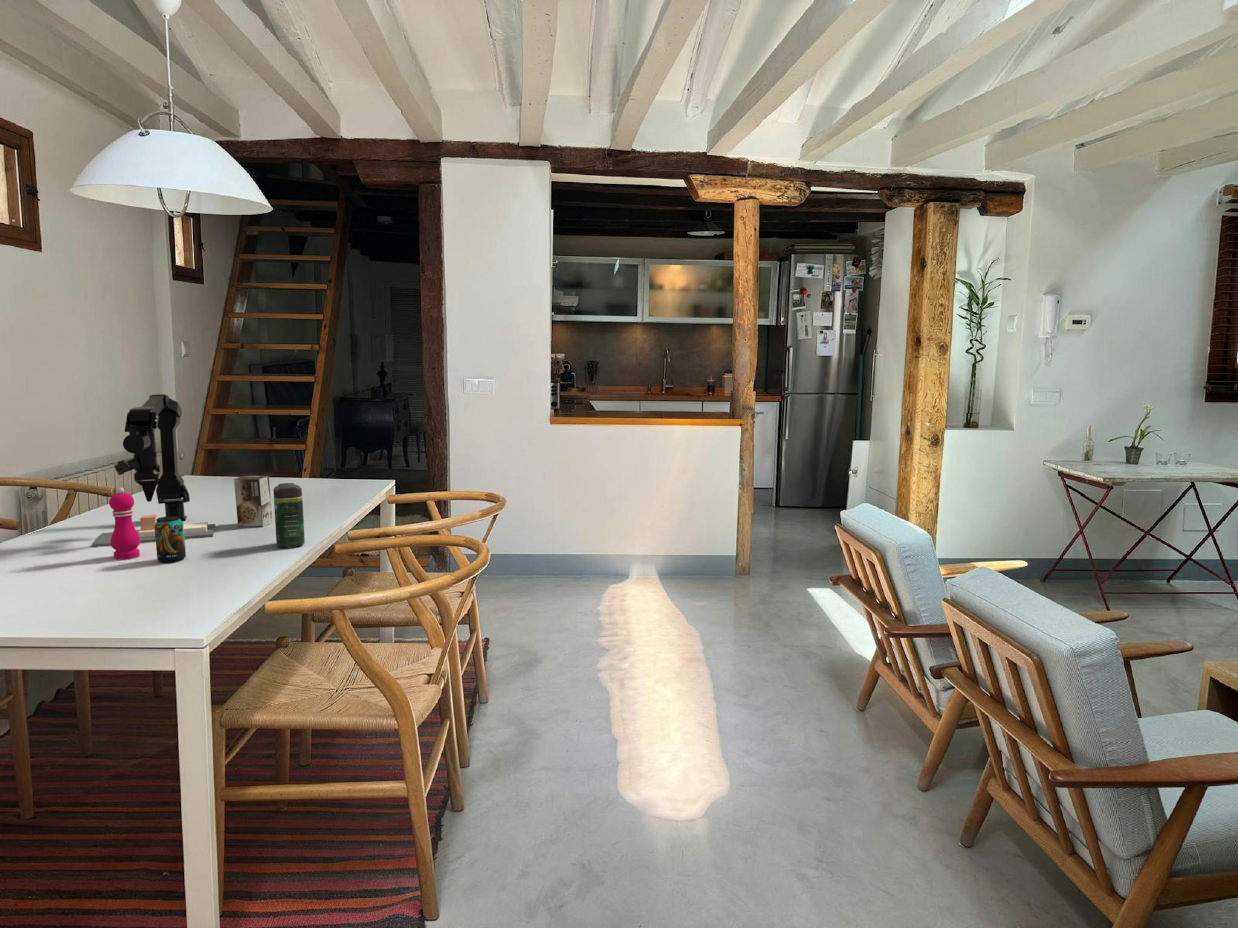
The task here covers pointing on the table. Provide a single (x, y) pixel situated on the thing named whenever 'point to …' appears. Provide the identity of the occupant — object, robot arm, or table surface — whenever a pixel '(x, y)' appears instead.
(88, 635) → the table surface
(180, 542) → the beverage can
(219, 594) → the table surface
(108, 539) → the mat
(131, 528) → the pepper mill
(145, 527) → the stub
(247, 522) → the coffee box
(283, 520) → the coffee jar
